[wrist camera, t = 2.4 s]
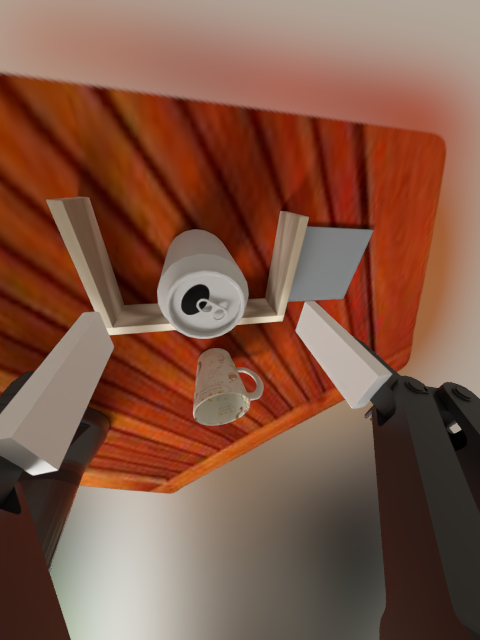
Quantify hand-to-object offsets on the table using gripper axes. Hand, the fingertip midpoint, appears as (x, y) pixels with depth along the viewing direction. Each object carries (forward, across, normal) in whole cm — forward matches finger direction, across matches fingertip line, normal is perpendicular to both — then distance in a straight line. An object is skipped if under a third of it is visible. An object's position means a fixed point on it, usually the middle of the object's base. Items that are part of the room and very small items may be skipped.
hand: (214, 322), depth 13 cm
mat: (+14, +18, -1) cm, 23 cm away
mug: (+14, +4, -19) cm, 24 cm away
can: (+14, 0, 0) cm, 14 cm away
